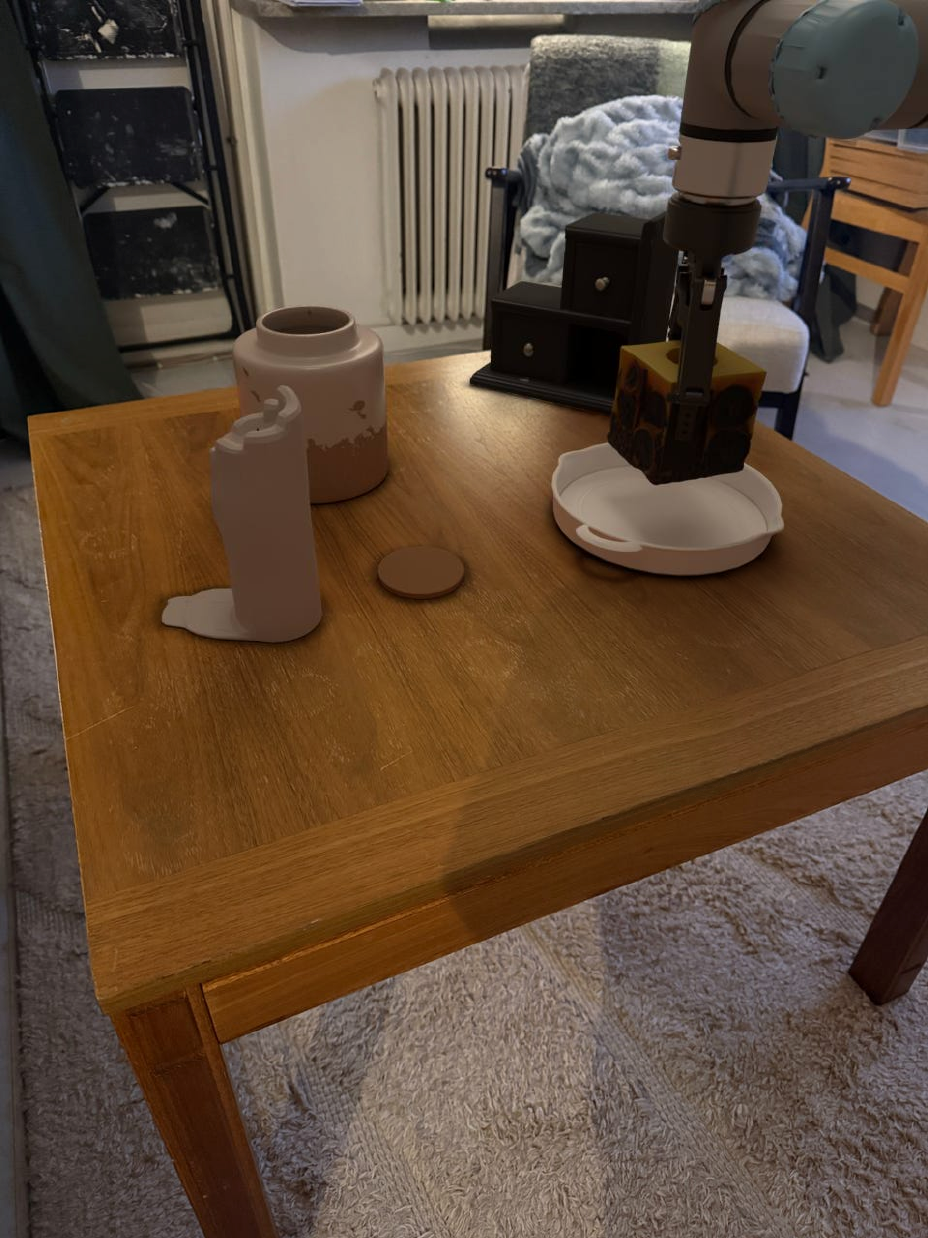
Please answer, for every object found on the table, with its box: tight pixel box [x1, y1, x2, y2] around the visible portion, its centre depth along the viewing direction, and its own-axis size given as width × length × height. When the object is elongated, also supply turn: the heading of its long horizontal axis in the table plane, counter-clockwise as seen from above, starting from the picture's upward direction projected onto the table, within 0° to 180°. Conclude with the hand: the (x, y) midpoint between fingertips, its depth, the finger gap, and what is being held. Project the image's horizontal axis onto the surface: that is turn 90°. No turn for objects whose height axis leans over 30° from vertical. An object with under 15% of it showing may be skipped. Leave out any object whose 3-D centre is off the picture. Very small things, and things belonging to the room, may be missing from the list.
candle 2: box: [161, 385, 323, 643], centre depth 68 cm, size 7×14×20 cm, turn 86°
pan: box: [550, 442, 785, 577], centre depth 87 cm, size 24×27×4 cm
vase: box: [231, 304, 389, 504], centre depth 91 cm, size 15×15×17 cm
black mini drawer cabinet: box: [468, 210, 680, 417], centre depth 109 cm, size 23×11×24 cm, turn 60°
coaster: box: [377, 545, 465, 600], centre depth 80 cm, size 8×8×1 cm
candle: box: [606, 340, 768, 485], centre depth 81 cm, size 10×10×10 cm
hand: (672, 437), depth 83 cm, fingers closed on candle, 13 cm apart
